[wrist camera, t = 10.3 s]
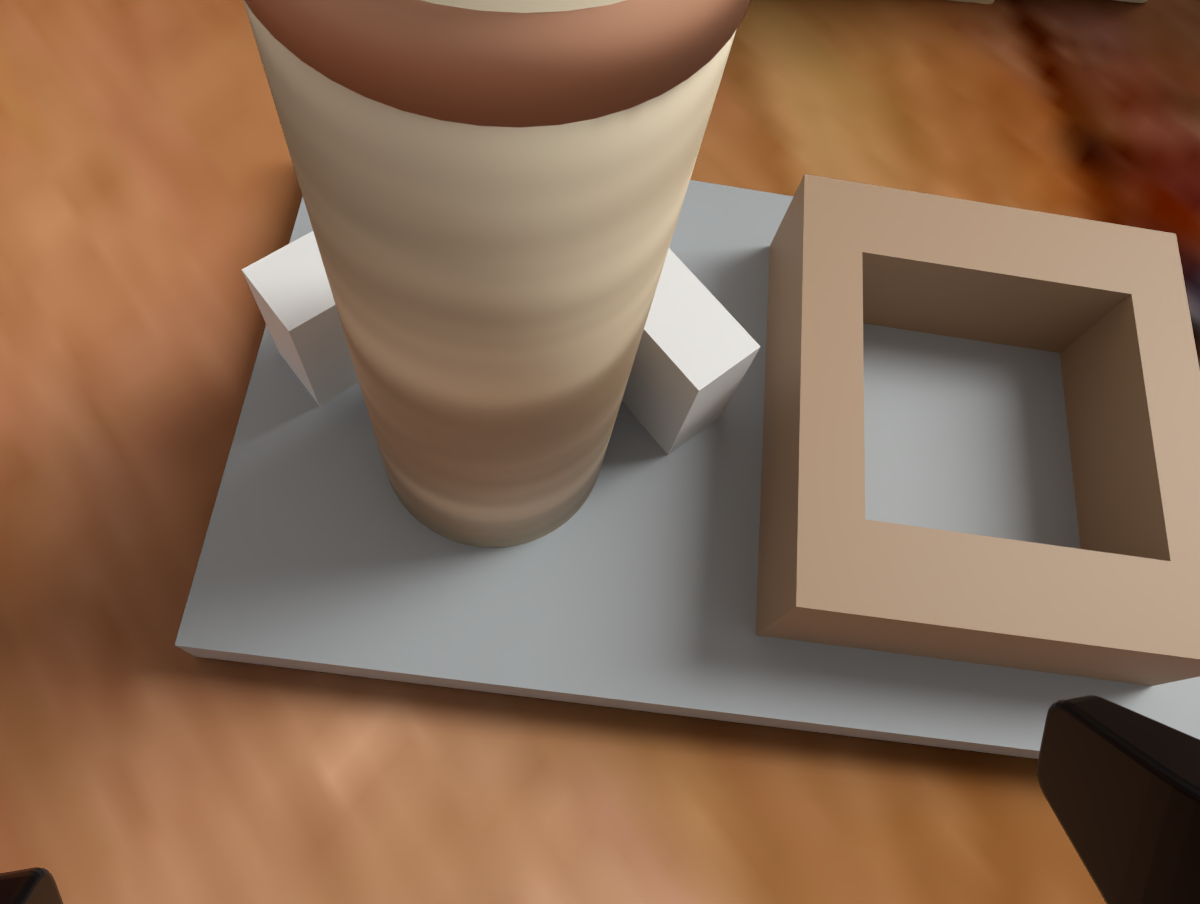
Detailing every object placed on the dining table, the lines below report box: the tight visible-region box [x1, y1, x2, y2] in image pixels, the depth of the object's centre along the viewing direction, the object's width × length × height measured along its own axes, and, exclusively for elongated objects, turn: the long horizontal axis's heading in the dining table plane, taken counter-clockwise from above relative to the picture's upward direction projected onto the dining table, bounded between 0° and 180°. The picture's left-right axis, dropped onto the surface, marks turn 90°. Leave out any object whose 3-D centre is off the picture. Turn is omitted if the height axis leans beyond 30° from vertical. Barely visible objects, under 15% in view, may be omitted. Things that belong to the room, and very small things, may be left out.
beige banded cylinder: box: [244, 0, 751, 548], centre depth 12 cm, size 4×4×13 cm
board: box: [175, 174, 1200, 759], centre depth 18 cm, size 12×20×4 cm, turn 84°
